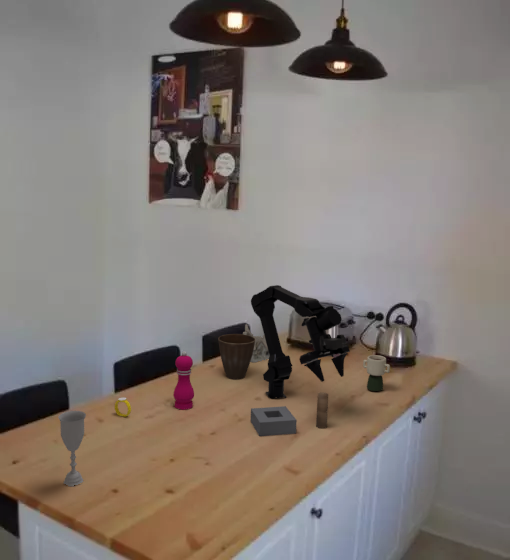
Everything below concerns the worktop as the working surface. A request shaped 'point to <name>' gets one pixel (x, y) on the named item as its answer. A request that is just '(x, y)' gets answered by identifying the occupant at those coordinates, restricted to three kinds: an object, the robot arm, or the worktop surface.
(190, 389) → the pepper mill
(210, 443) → the worktop surface
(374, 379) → the cream and green vessel
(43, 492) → the worktop surface
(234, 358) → the plant pot
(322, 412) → the walnut pin
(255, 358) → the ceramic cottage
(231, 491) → the worktop surface
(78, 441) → the chalice
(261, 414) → the socket block
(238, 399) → the worktop surface
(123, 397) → the yellow ring
